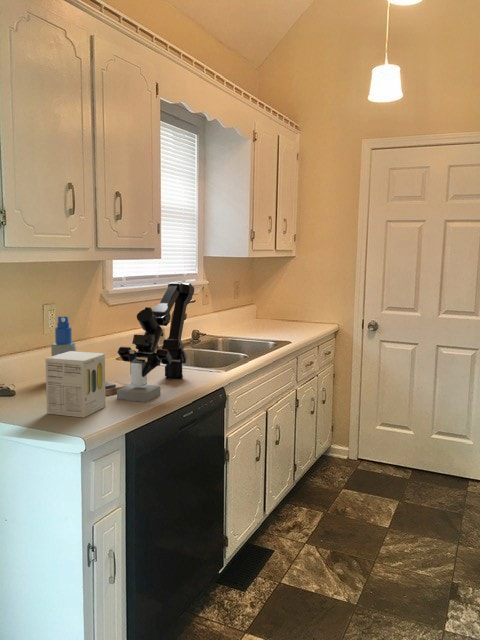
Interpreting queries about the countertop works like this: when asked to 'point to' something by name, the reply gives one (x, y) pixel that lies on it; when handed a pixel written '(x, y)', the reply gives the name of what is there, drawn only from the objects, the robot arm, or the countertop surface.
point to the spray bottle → (62, 337)
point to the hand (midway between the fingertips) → (137, 375)
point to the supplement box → (75, 383)
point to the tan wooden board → (113, 387)
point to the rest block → (138, 393)
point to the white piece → (138, 373)
